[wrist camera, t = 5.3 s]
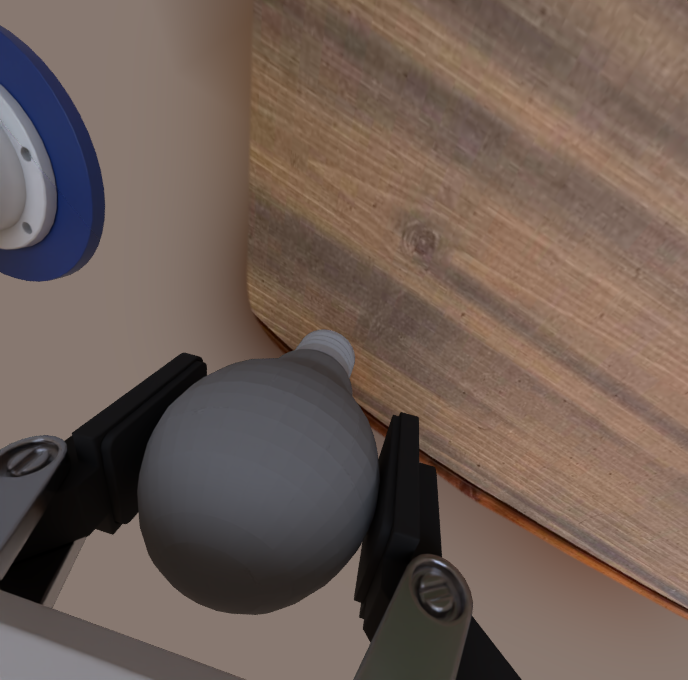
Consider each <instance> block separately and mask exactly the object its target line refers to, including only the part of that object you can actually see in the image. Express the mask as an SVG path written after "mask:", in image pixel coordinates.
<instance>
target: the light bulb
mask: <svg viewBox="0 0 688 680" xmlns="http://www.w3.org/2000/svg"><path fill="white" fill-rule="evenodd" d="M354 363H355V354H354V350H353V348H352V346H351V344H350V343H349V341H348V340H347V339H346V338H345V337H343V336H342V335H341V334H339V333H337V332H334V331H331V330H317V331H313V332H311V333H309V334H308V335H306V336H305V337H304V338H303V340H302V341H301V342H300V344H299V345H298V346H297V348H296V349H295V350H294V351H291V352H288V353H286V354H284V355H282V356H281V357H280V358H271V359H270V358H269V359H250V360H246V361H242V362H238V363H234V364H231V365H228V366H226V367H224V368H222V369H219V370H217V371H216V372H214V373H211V374H209V375H207V376H205V377H203V378H202V379H200V380H199V381H197V382H196V383H194V384H193V385H192V386H191V387H189V388H188V389H187V390H186V391H185V392H184V393H183V394H182V395H180V396H179V397H178V398H177V399H176V400H175V401H174V402H173V403H172V404H171V405H169V406H168V408H167V410H166V411H165V413H164V414H163V416H162V417H161V419H160V420H159V422H158V424H157V425H156V427H155V429H154V430H153V432H152V435H151V437H150V439H149V441H148V443H147V446H146V450H145V454H144V457H143V461H142V465H141V469H140V473H139V481H138V489H137V496H138V511H139V522H140V529H141V532H142V535H143V538H144V542H145V545H146V548H147V551H148V554H149V556H150V558H151V559H152V561H153V563H154V565H155V566H156V567H157V568H158V569H159V571H160V572H161V573H162V574H163V576H165V578H166V579H167V580H168V581H169V582H170V584H171V585H172V586H173V587H174V588H176V589H177V590H178V591H179V592H181V593H182V594H183V595H184V596H186V597H188V598H189V599H191V600H193V601H195V602H196V603H198V604H200V605H203V606H205V607H208V608H211V609H214V610H216V611H221V612H226V613H232V614H252V615H258V614H266V613H270V612H273V611H276V610H279V609H282V608H285V607H287V606H290V605H293V604H295V603H297V602H299V601H300V600H302V599H303V598H305V597H307V596H308V595H310V594H312V593H313V592H315V591H317V590H318V589H320V588H321V587H323V586H325V585H326V584H327V583H328V582H329V581H330V580H331V579H332V578H333V577H335V576H336V575H337V574H338V573H339V572H340V570H341V569H342V568H343V567H344V566H345V565H346V564H347V563H348V561H349V560H350V559H351V558H352V556H353V555H354V554H355V553H356V551H357V550H358V548H359V547H360V545H361V543H362V541H363V540H364V538H365V536H366V534H367V532H368V529H369V527H370V525H371V523H372V520H373V518H374V514H375V510H376V506H377V499H378V492H379V484H380V470H379V461H378V453H377V447H376V442H375V439H374V435H373V432H372V430H371V427H370V424H369V422H368V419H367V418H366V416H365V415H364V413H363V411H362V410H361V408H360V407H359V405H358V404H357V402H356V401H355V399H354V398H353V396H352V386H351V382H350V379H349V378H350V375H351V372H352V369H353V366H354Z"/></svg>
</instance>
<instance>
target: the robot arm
mask: <svg viewBox="0 0 688 680" xmlns="http://www.w3.org/2000/svg"><path fill="white" fill-rule="evenodd" d="M56 210H57V190H56V183H55V176H54V173H53V169H52V165H51V162H50V158H49V156H48V154H47V151H46V149H45V146H44V144H43V141H42V139H41V138H40V136H39V134H38V132H37V130H36V128H35V127H34V125H33V123H32V121H31V120H30V119H29V117H28V116H27V114H26V113H25V112H24V110H23V109H22V107H21V106H20V104H19V103H18V102H17V101H16V100H15V99H14V98H13V96H12V95H11V94H10V93H9V92H8V91H7V90H6V89H5V88H4V87H3V86H2V85H1V84H0V248H1V249H19V248H24V247H29V246H33V245H35V244H37V243H38V242H40V241H42V240H43V239H44V237H45V236H46V235H47V234H48V233H49V231H50V229H51V227H52V225H53V223H54V219H55V214H56ZM205 376H207V365H206V363H204V362H203V360H202V358H201V357H199V356H195V355H191V354H188V353H182V354H180V355H178V356H177V357H176V358H174V359H173V360H171V361H170V362H169V363H167V364H166V365H165V366H163V367H162V368H160V369H159V370H158V371H157V372H155V373H154V374H152V375H151V376H149V377H148V378H147V379H145V380H144V381H143V382H142V383H140V384H139V385H137V386H136V387H134V388H133V389H132V390H130V391H129V392H128V393H126V394H125V395H123V396H122V397H121V398H119V399H118V400H117V401H115V402H114V403H112V404H111V405H110V406H109V407H107V408H106V409H104V410H103V411H101V412H100V413H99V414H97V415H96V416H95V417H93V418H92V419H90V420H89V421H88V422H86V423H85V424H84V425H82V426H81V427H79V428H78V429H77V430H75V431H74V432H73V433H72V436H71V437H69V438H68V439H67V440H65V441H63V440H62V439H60V438H58V437H55V436H48V435H43V436H34V437H29V438H25V439H21V440H19V441H17V442H14V443H11V444H9V445H7V446H6V447H4V448H2V449H1V450H0V680H245V679H243V678H240V677H237V676H235V675H232V674H229V673H227V672H224V671H221V670H218V669H216V668H213V667H210V666H207V665H205V664H202V663H200V662H197V661H194V660H191V659H189V658H186V657H184V656H181V655H178V654H175V653H173V652H170V651H167V650H164V649H162V648H159V647H156V646H154V645H151V644H148V643H145V642H143V641H140V640H137V639H134V638H132V637H129V636H126V635H124V634H120V633H118V632H115V631H113V630H110V629H107V628H104V627H102V626H99V625H96V624H93V623H91V622H88V621H85V620H82V619H80V618H77V617H74V616H71V615H69V614H66V613H63V612H60V611H58V610H55V609H52V608H53V606H54V604H55V602H56V600H57V598H58V595H59V593H60V591H61V589H62V587H63V585H64V583H65V581H66V579H67V577H68V575H69V573H70V571H71V569H72V566H73V564H74V562H75V560H76V558H77V556H78V554H79V552H80V550H81V548H82V546H83V544H84V542H85V540H86V537H87V536H89V535H90V534H91V533H92V532H93V531H94V530H95V529H97V530H101V531H103V532H106V533H109V534H114V533H115V532H116V531H117V529H118V528H119V527H120V526H121V525H122V524H127V523H129V522H130V521H131V520H132V519H133V518H134V517H135V515H136V514H137V513H138V512H139V511H138V496H137V489H138V481H139V473H140V469H141V465H142V461H143V457H144V454H145V450H146V446H147V443H148V441H149V439H150V437H151V435H152V432H153V430H154V429H155V427H156V425H157V424H158V422H159V420H160V419H161V417H162V416H163V414H164V413H165V411H166V410H167V408H168V406H169V405H171V404H172V403H173V402H174V401H175V400H176V399H177V398H178V397H179V396H180V395H182V394H183V393H184V392H185V391H186V390H187V389H188V388H189V387H191V386H192V385H193V384H194V383H196V382H197V381H199V380H200V379H202V378H203V377H205ZM378 461H379V470H380V484H379V492H378V499H377V506H376V510H375V514H374V518H373V520H372V523H371V525H370V527H369V529H368V532H367V534H366V536H365V538H364V540H363V542H362V549H361V556H360V562H359V568H358V575H357V582H356V588H355V595H354V600H355V601H358V602H361V608H360V615H359V617H360V618H362V619H364V624H363V630H364V631H365V633H366V635H367V637H368V639H369V641H370V642H371V643H370V646H369V648H368V650H367V652H366V654H365V656H364V658H363V660H362V662H361V664H360V667H359V669H358V671H357V673H356V675H355V677H354V679H353V680H521V678H520V677H519V676H518V674H517V673H516V672H515V671H514V669H513V668H512V667H511V665H510V664H509V663H508V662H507V660H506V659H505V658H504V656H503V655H502V654H501V653H500V651H499V650H498V649H497V648H496V646H495V645H494V643H493V642H492V641H491V640H490V638H489V637H488V636H487V635H486V633H485V632H484V631H483V629H482V628H481V627H480V626H479V624H478V623H477V622H476V620H475V619H474V618H473V616H472V610H473V600H472V596H471V591H470V589H469V586H468V584H467V582H466V580H465V578H464V577H463V576H462V574H461V573H460V572H459V570H458V569H457V568H456V567H455V566H453V565H452V564H451V563H450V562H449V561H447V560H446V559H444V558H442V551H441V535H440V519H439V505H438V489H437V474H436V469H435V467H433V466H430V465H426V464H423V463H419V417H417V416H414V415H410V414H406V413H403V412H401V413H400V415H399V416H396V415H393V416H392V419H391V422H390V425H389V428H388V431H387V435H386V438H385V441H384V444H383V447H382V450H381V453H380V456H379V459H378Z"/></svg>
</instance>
